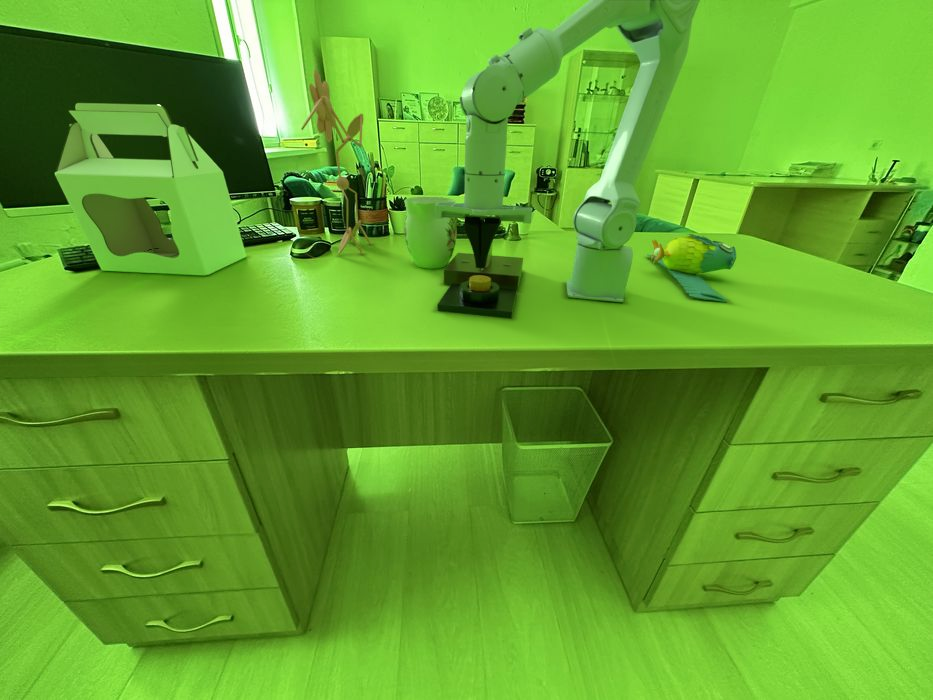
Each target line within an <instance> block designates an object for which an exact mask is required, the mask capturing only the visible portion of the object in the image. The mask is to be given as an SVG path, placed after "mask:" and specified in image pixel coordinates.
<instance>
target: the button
mask: <svg viewBox="0 0 933 700" xmlns="http://www.w3.org/2000/svg"><path fill="white" fill-rule="evenodd" d="M469 289H471V290H475V291H487V290H490V289H491V278H490V277H488V276H484V275H475V276H471V277H470V278H469Z"/></svg>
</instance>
